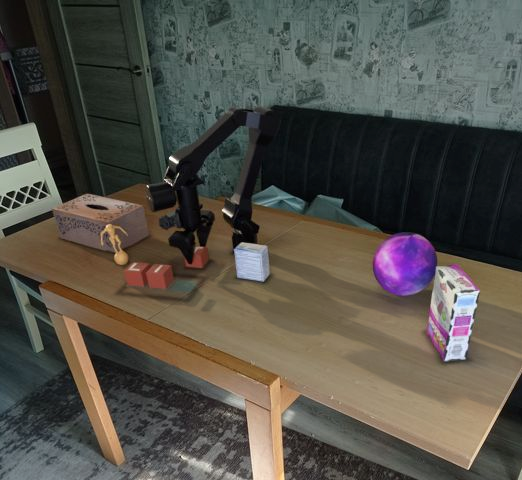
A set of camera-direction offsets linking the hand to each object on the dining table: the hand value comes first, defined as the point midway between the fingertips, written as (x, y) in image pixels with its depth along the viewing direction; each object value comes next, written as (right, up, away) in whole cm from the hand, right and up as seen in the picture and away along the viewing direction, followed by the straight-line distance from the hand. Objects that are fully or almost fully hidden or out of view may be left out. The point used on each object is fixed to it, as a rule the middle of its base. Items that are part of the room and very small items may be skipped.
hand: (196, 256), depth 150 cm
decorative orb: (+53, -12, -18) cm, 57 cm away
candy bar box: (+57, -25, -37) cm, 73 cm away
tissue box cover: (-32, +10, +22) cm, 40 cm away
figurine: (-23, -1, +6) cm, 23 cm away
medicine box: (+16, -7, -6) cm, 19 cm away
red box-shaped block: (-9, -9, -7) cm, 14 cm away
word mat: (-8, -9, -7) cm, 14 cm away
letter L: (-15, -8, -5) cm, 18 cm away
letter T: (0, -2, +2) cm, 3 cm away
